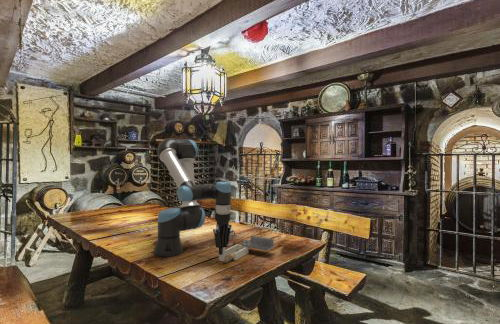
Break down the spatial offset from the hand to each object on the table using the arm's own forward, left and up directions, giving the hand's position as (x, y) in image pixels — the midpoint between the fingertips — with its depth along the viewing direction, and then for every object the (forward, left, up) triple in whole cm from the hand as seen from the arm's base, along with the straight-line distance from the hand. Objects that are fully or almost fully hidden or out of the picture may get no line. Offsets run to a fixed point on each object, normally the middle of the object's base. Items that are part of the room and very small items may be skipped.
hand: (221, 260), depth 137 cm
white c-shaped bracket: (0, +15, -1) cm, 15 cm away
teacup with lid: (-15, +27, -2) cm, 31 cm away
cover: (+8, +23, +3) cm, 24 cm away
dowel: (0, +5, -1) cm, 5 cm away
